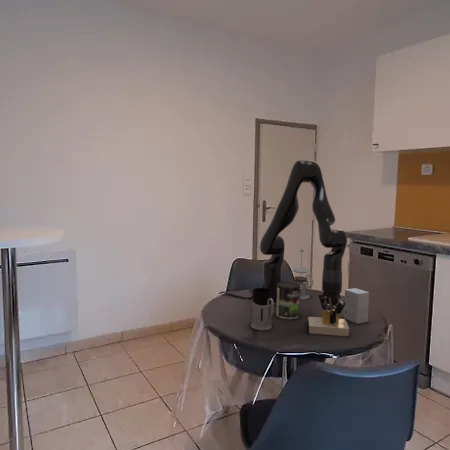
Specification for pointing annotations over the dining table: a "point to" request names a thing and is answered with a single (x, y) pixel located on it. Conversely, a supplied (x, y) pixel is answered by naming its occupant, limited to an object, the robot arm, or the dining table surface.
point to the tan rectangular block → (328, 317)
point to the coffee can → (288, 300)
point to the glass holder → (262, 309)
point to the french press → (302, 280)
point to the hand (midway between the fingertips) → (330, 321)
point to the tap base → (328, 327)
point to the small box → (356, 305)
